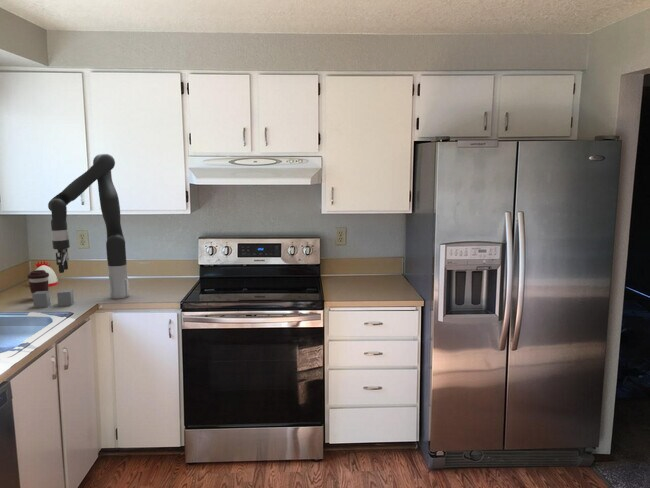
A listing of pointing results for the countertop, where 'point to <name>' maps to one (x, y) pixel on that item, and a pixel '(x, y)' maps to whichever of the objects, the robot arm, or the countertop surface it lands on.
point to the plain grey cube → (41, 299)
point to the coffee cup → (38, 281)
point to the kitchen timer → (52, 276)
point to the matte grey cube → (65, 298)
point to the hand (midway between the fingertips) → (63, 271)
